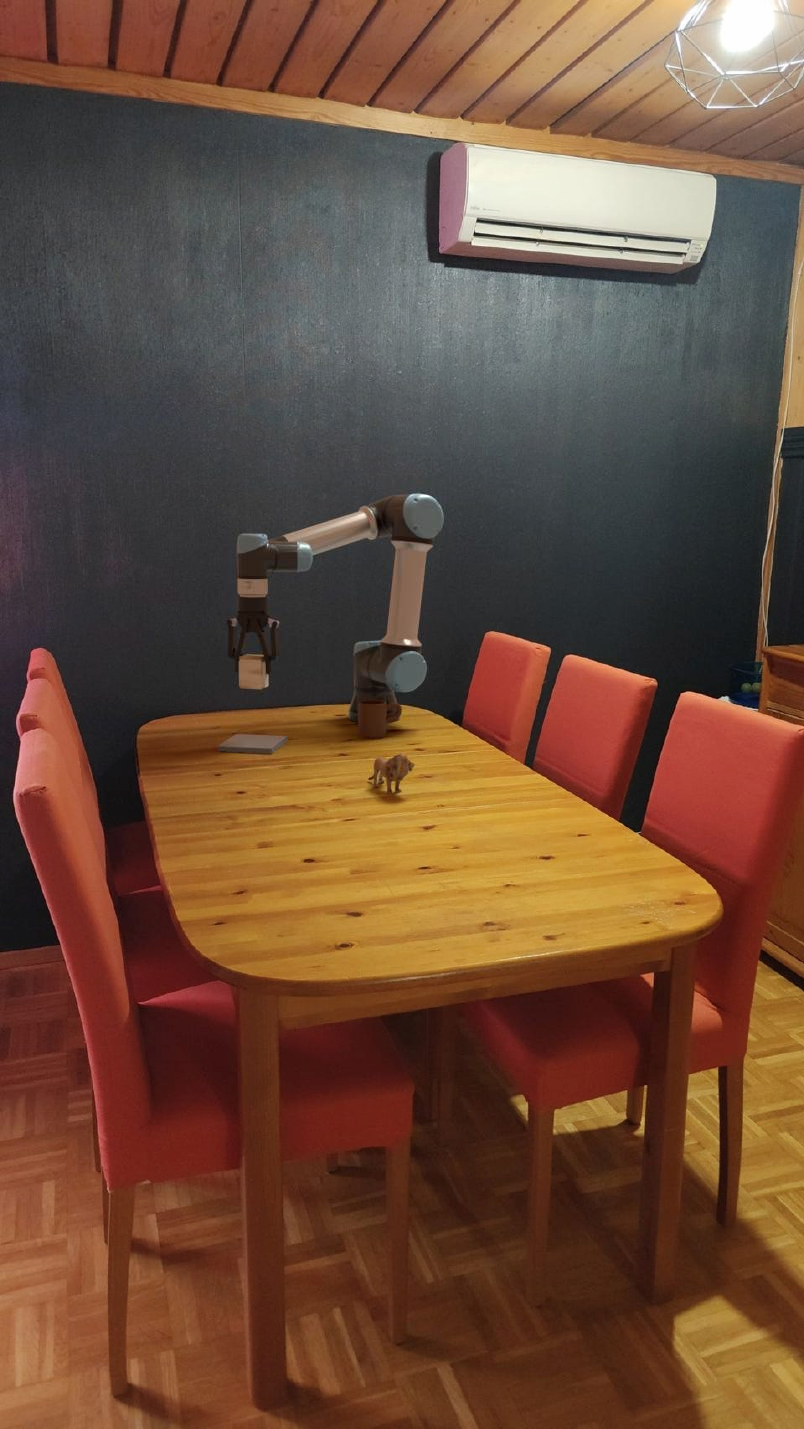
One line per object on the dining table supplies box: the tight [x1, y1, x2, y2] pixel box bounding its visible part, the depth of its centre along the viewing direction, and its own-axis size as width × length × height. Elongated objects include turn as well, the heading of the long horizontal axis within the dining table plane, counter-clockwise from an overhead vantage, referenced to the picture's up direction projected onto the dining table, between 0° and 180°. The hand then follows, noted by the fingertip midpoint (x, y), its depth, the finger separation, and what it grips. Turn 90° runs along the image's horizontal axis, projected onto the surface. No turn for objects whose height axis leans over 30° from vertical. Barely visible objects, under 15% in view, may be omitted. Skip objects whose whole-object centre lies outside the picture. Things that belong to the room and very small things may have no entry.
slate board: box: [217, 733, 288, 755], centre depth 249 cm, size 14×14×1 cm
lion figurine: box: [367, 753, 416, 796], centre depth 210 cm, size 15×5×9 cm, turn 37°
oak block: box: [239, 653, 265, 690], centre depth 247 cm, size 6×6×8 cm
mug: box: [357, 700, 403, 740], centre depth 261 cm, size 12×8×9 cm, turn 102°
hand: (253, 686), depth 248 cm, fingers closed on oak block, 5 cm apart
